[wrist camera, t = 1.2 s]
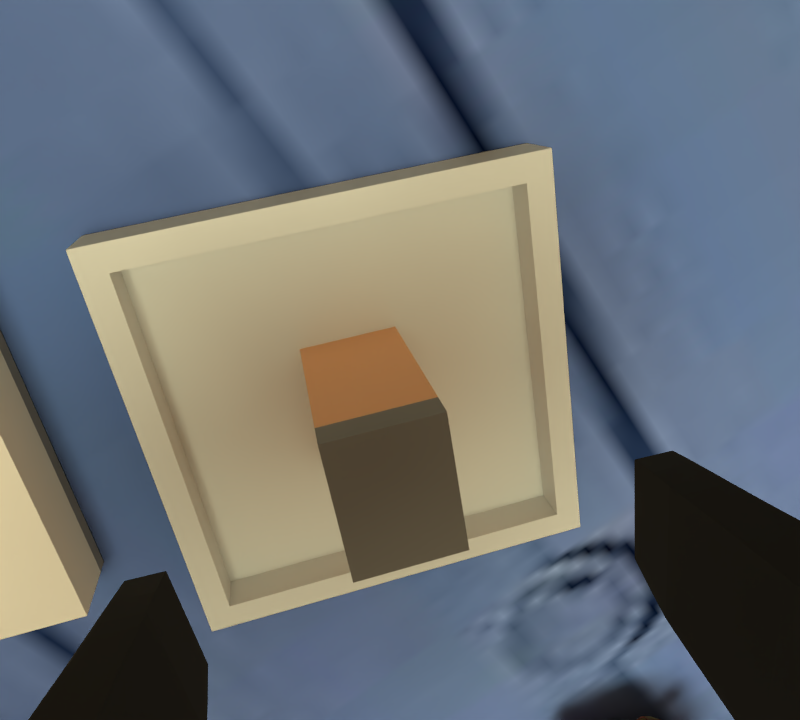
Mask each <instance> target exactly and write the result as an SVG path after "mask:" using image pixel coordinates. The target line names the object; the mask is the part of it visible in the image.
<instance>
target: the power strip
mask: <svg viewBox="0 0 800 720" xmlns="http://www.w3.org/2000/svg"><path fill="white" fill-rule="evenodd" d="M103 563H104V561H103V559H102V557H101V555H100V552H99V550H98V548H97V546H96V543H95V541H94V539H93V537H92V534H91V532H90V530H89V528H88V525H87V523H86V521H85V519H84V516H83V514H82V512H81V510H80V508H79V505H78V503H77V501H76V499H75V496H74V494H73V492H72V490H71V487H70V485H69V483H68V481H67V478H66V476H65V474H64V472H63V469H62V467H61V465H60V463H59V461H58V458H57V456H56V454H55V452H54V449H53V447H52V445H51V443H50V440H49V438H48V436H47V434H46V431H45V429H44V427H43V425H42V423H41V420H40V418H39V416H38V414H37V411H36V409H35V407H34V405H33V402H32V400H31V398H30V396H29V393H28V391H27V389H26V387H25V384H24V382H23V380H22V378H21V376H20V373H19V371H18V369H17V367H16V364H15V362H14V360H13V358H12V355H11V353H10V351H9V349H8V346H7V344H6V342H5V340H4V338H3V335H2V333H1V331H0V640H1V639H4V638H8V637H12V636H15V635H19V634H22V633H26V632H30V631H33V630H37V629H41V628H44V627H48V626H52V625H55V624H59V623H62V622H66V621H70V620H73V619H77V618H81V617H84V616H87V614H88V611H89V608H90V605H91V602H92V598H93V595H94V592H95V589H96V586H97V582H98V579H99V576H100V573H101V570H102V566H103Z"/></svg>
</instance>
